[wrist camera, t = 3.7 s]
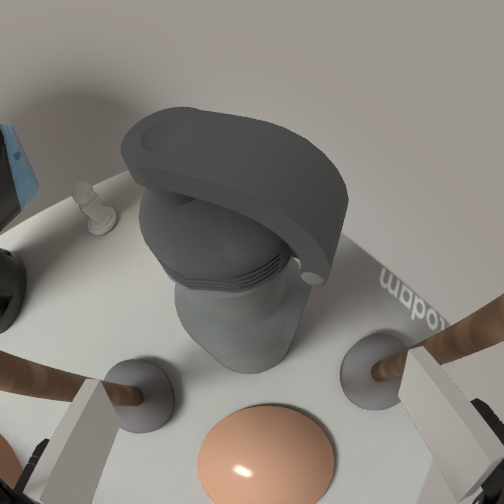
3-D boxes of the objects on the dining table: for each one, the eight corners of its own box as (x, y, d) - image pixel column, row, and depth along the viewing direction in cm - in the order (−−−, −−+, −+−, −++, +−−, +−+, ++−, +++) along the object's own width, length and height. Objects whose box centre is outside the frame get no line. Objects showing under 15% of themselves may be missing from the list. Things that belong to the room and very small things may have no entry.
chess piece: (103, 204, 45) (79, 168, 37) (124, 215, 44) (100, 177, 36) (83, 229, 43) (55, 195, 35) (103, 241, 42) (74, 207, 34)
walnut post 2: (327, 356, 32) (485, 196, 7) (390, 324, 34) (556, 161, 8) (357, 423, 28) (580, 426, 3) (419, 386, 29) (628, 304, 4)
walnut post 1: (100, 370, 32) (-102, 277, 7) (161, 352, 33) (-35, 216, 8) (119, 438, 28) (-103, 431, 3) (184, 423, 29) (-40, 440, 4)
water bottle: (306, 311, 35) (373, 102, 11) (277, 387, 31) (319, 333, 6) (227, 284, 37) (166, 70, 13) (195, 355, 33) (32, 217, 9)
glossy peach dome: (180, 427, 29) (178, 428, 29) (304, 385, 31) (305, 385, 30) (227, 533, 22) (226, 535, 22) (350, 492, 24) (352, 493, 24)
